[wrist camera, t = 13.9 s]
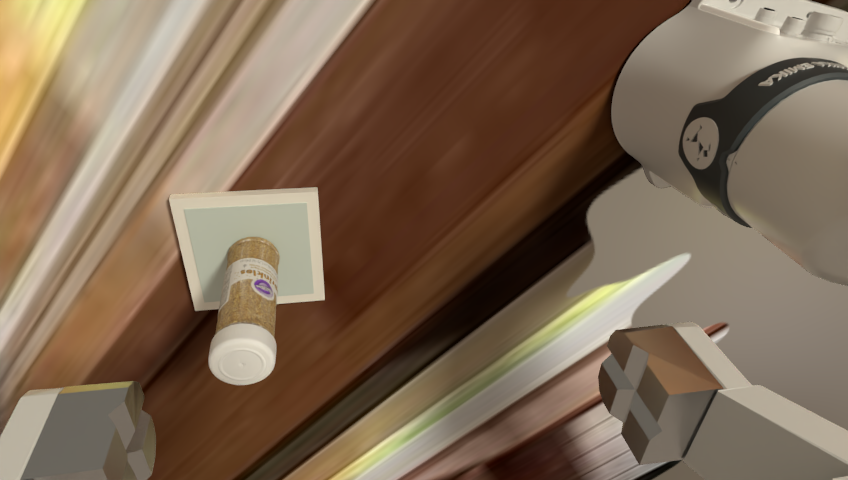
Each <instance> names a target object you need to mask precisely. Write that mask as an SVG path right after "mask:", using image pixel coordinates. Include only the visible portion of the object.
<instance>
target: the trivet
mask: <svg viewBox="0 0 848 480" xmlns="http://www.w3.org/2000/svg"><path fill="white" fill-rule="evenodd" d="M169 202H170V206H171V210H172V215H173V219H174V223H175V227H176V232H177V236H178V240H179V245H180V249H181V253H182V257H183V262H184V266H185V270H186V274H187V279H188V283H189V287H190V291H191V296H192V300H193V304H194V308H195V311H201V310H213V309H219V306H220V300H221V294H222V288H223V282H224V276H225V272H226V268H227V263H228V261H227V255H228V252H229V249H230V247H231V246H232V245H233V244H234V243H235V242H237V241H238V240H240V239H243V238H246V237H261V238H263V239H267V240H268V241H270V242H271V243H272V244H273V245H274V246H275V247H276V249H277V250H278V252H279V256H280V260H279V265H278V275H277V276H278V295H277V304H283V303H295V302H307V301H319V300H325V294H324V279H323V264H322V249H321V233H320V218H319V203H318V188H317V187H313V188H292V189H271V190H251V191H230V192H209V193H189V194H171V195H170V197H169Z"/></svg>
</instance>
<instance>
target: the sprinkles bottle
mask: <svg viewBox="0 0 848 480" xmlns="http://www.w3.org/2000/svg"><path fill="white" fill-rule="evenodd" d="M279 260H280V256H279V252H278V250H277V249H276V247H275V246H274V245H273V244H272V243H271V242H270V241H268V240H267V239H263V238H261V237H246V238H243V239H240V240H238V241H237V242H235V243H234V244H233V245H232V246H231V247H230V249H229V252H228V255H227V261H228V263H227V268H226V272H225V276H224V282H223V288H222V294H221V300H220V306H219V311H218V321H217V326H216V333H215V336H214V337H213V339H212V341H211V346H210V351H209V359H208V363H209V368H210V370H211V371H212V373H213V374H214V375H215V376H216V377H217V378H218V379H220V380H222V381H224V382H226V383H229V384H234V385H248V384H253V383H256V382H259V381H261V380H263V379H264V378H266V377H267V376H268V375H269V374H270V373H271V372H272V370H273V368H274V366H275V360H276V342H275V338H274V333H275V318H276V305H277V295H278V276H277V275H278V265H279Z"/></svg>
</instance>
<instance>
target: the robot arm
mask: <svg viewBox="0 0 848 480" xmlns="http://www.w3.org/2000/svg"><path fill="white" fill-rule="evenodd" d="M611 118H612V126H613V130H614V133H615V136H616V138H617V140H618V142H619V143H620V145H621V146H622V148H623V149H624V150H625V151H626V152H627V153H628V154H630V155H631V156H632V157H634V158H635V159H636V160H638V161H639V162H640V163H641V165H642V167H643V169H644V172H645V175H646V177H647V179H648V180H649V182H650V183H651V184H653V185H654V186H656V187H658V188H666V187H671V186H672V187H673V188H675V189H676V190H678V191H679V192H681V193H682V194H684V195H685V196H687V197H688V198H690V199H691V200H693V201H694V202H696V203H697V204H699V205H701V206H702V207H705V208H711V207H713V206H714V207H715V208H716V209H717V210H718V211H719V212H721V213H722V214H723V215H725V216H727V217H728V218H730V219H733V220H734V221H735V222H737V223H739V224H741V225H743V226H746V227H750V228H754V229H755V230H756V231H757V232H759V233H760V234H761V235H762V236H764V237H765V238H766V239H767V240H769V241H770V242H771V243H772V244H774V245H775V246H776V247H778V248H779V249H780V250H781V251H783V252H784V253H785V254H786V255H788V256H789V257H790V258H791V259H793V260H794V261H795V262H796V263H798V264H799V265H801V266H802V267H803V268H804V269H805V270H806V271H808V272H809V273H811V274H812V275H814V276H816V277H818V278H821V279H824V280H826V281H829V282H832V283H836V284H841V285H845V286H848V12H846V11H843V10H841V9H837V8H834V7H831V6H827V5H824V4H820V3H817V2H813V1H810V0H692V1H691V3H690V4H689V5H688V6H687V7H686V8H685V9H683V10H682V11H681V12H679V13H678V14H676V15H675V16H673V17H671V18H670V19H668V20H667V21H665V22H664V23H662V24H661V25H660V26H658V27H657V28H656V29H655V30H653V31H652V32H651V33H650V34H649V35H648V36H647V37H646V38H645V39H644V40H643V41H642V42H641V43H640V44H639V45H638V47H637V48H636V49H635V50H634V52H633V53H632V55H631V56H630V57H629V59H628V61H627V62H626V64H625V66H624V68H623V69H622V71H621V74H620V76H619V78H618V81H617V83H616V86H615V90H614V94H613V99H612V107H611ZM607 347H608V348H609V350H610V351H611V353H612V354H611V355H610V356H609V357H608V358H607V359H606V360H605V361H604V362H603V363H602V364H601V368H600V372H599V376H598V379H599V391H600V394H601V397H602V400H603V402H604V404H605V406H606V408H607V410H608V411H609V413H610V414H611V415H613V416H614V417H616V418H617V419H619V420H620V421H622V422H623V426H622V432H621V434H622V436H623V437H624V439H625V441H626V443H627V444H628V446H629V448H630V449H631V451H632V453H633V455H634V456H635V458H636V460H637V461H638V463H639V465H643V464H651V463H659V462H667V461H675V460H683V459H684V461H683V462H684V463H685V464H686V465H687V466H689V467H690V468H691V469H692V470H694V471H695V472H696V473H697V474H699V475H700V476H701V477H703V478H704V479H705V480H848V431H847V430H845V429H843V428H841V427H839V426H838V425H836V424H834V423H832V422H830V421H828V420H826V419H824V418H822V417H820V416H818V415H816V414H814V413H813V412H811V411H809V410H807V409H805V408H803V407H801V406H799V405H797V404H795V403H793V402H791V401H790V400H788V399H786V398H784V397H782V396H780V395H778V394H776V393H774V392H772V391H770V390H769V389H767V388H765V387H762V386H760V385H754V386H752V385H751V384H750V383H749V382H748V381H747V379H746V378H745V377H744V376H743V375H742V374H741V373H740V372H739V370H738V369H737V368H736V367H735V366H734V365H733V364H732V362H731V361H730V360H729V359H728V358H727V357H726V356H725V355H724V353H723V352H722V351H721V350H720V349H719V348H718V347H717V346H716V344H715V343H714V342H713V341H712V340H711V339H710V338H709V337H708V335H707V334H706V333H705V332H704V331H703V330H702V329H701V328H700V326H698V325H697V324H695V323H693V322H683V323H674V324H666V325H657V326H648V327H639V328H630V329H622V330H616V331H615V332H614V333H613V334H612V335H611V336H610V339H609V342H608V345H607ZM143 401H144V394H143V392H142V389H141V386H140V384H139V382H135V381H130V382H117V383H105V384H93V385H81V386H68V387H64V388H52V389H39V390H29V391H28V392H27V393H26V394H24V395H23V396H22V397H21V398H20V399H19V401H18V403H17V405H16V407H15V409H14V411H13V413H12V415H11V417H10V418H9V420H8V422H7V424H6V426H5V428H4V430H3V432H2V434H1V436H0V480H147V479H148V478H149V477H150V476H151V474H152V470H153V465H154V460H155V447H156V437H155V429H154V424H153V421H152V418H151V415H149V414H147V413H146V412H144V411H142V410H141V408H142V404H143Z"/></svg>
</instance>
